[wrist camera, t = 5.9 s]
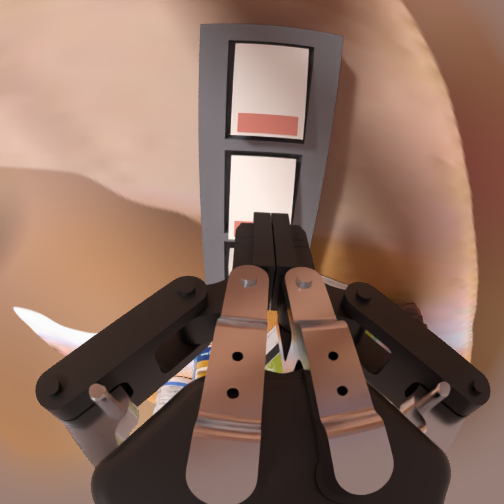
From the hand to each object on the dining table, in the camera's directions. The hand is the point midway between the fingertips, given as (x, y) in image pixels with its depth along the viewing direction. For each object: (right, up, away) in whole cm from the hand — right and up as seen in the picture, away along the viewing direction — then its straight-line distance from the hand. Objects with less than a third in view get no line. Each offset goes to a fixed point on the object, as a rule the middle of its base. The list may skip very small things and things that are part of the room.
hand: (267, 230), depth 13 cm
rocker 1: (0, +9, +3) cm, 10 cm away
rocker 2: (0, +3, +8) cm, 9 cm away
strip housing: (0, +6, +12) cm, 13 cm away
